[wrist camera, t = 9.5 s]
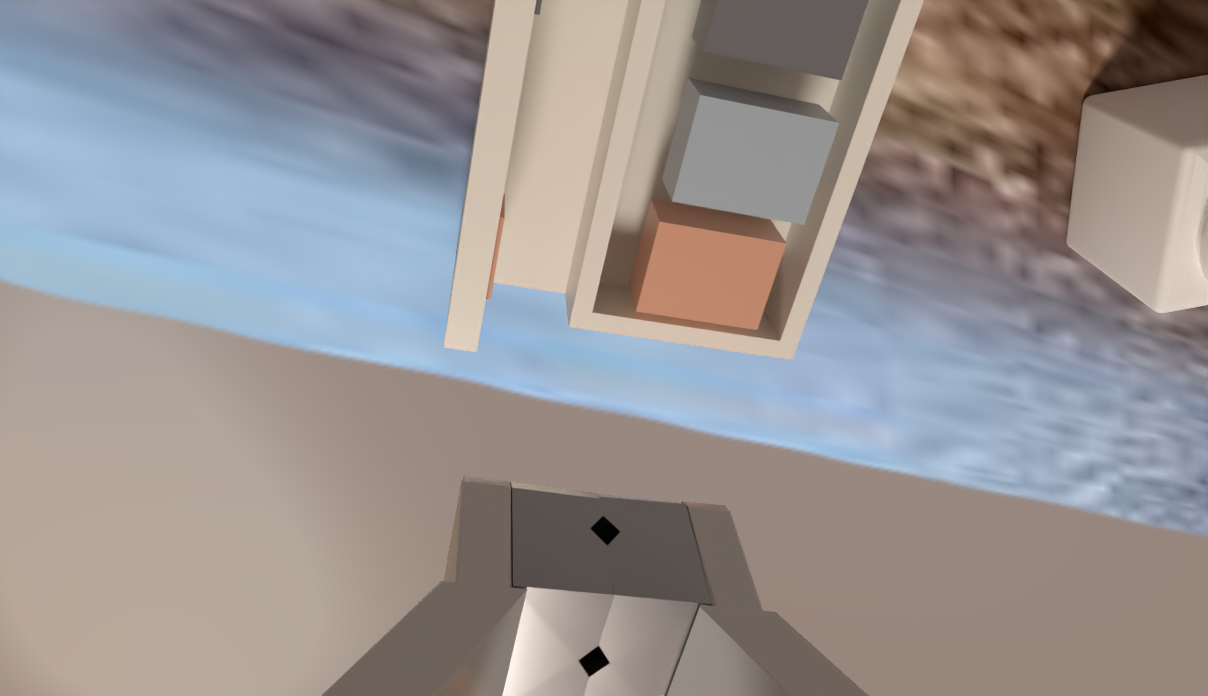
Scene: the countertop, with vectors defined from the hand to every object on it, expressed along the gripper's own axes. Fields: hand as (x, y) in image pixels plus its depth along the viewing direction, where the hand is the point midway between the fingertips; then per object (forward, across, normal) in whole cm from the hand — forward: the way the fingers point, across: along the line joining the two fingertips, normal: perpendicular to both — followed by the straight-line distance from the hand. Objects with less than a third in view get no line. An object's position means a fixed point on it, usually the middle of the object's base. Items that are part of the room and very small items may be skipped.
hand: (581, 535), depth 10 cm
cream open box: (+29, -6, +2) cm, 30 cm away
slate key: (+24, -8, +2) cm, 26 cm away
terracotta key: (+25, -8, +7) cm, 27 cm away
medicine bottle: (+29, -28, 0) cm, 40 cm away
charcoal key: (+25, -8, -3) cm, 27 cm away
